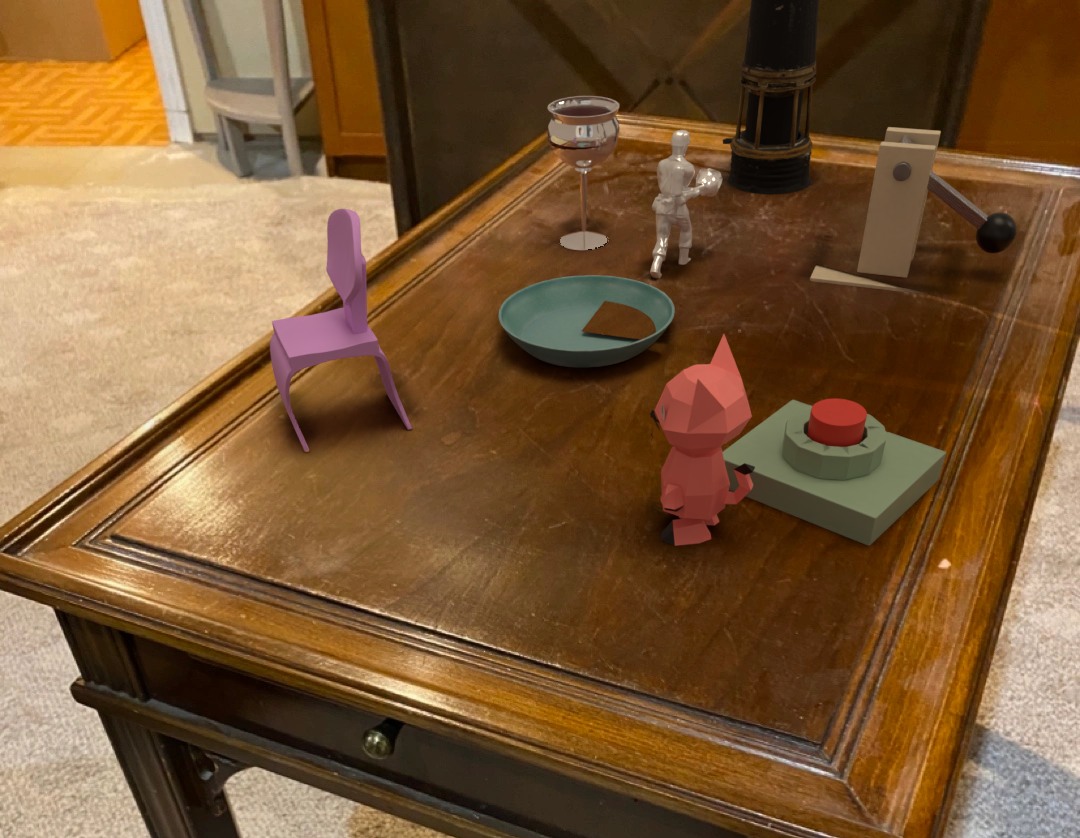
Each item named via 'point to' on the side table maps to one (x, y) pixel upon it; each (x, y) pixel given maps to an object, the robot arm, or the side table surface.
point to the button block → (834, 473)
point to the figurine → (678, 199)
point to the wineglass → (583, 149)
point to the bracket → (892, 211)
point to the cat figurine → (701, 445)
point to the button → (837, 422)
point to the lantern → (775, 98)
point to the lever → (974, 214)
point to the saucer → (580, 319)
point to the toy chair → (332, 320)
